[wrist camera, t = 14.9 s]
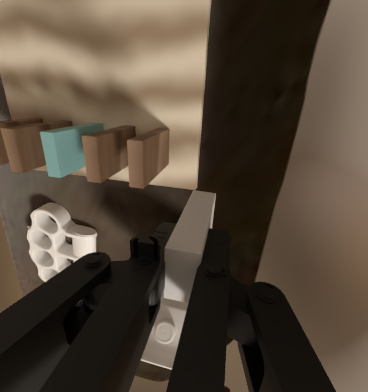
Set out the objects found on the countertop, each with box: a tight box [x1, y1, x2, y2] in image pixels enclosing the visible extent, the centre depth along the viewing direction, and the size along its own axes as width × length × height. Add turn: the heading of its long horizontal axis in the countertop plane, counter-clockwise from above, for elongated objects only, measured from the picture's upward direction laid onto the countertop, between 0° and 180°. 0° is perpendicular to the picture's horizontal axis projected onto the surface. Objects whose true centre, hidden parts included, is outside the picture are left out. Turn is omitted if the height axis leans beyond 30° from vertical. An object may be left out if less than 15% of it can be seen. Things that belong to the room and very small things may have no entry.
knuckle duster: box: [27, 203, 97, 282], centre depth 45 cm, size 3×18×15 cm
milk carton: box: [141, 291, 188, 370], centre depth 32 cm, size 7×7×19 cm
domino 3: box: [40, 123, 104, 178], centre depth 30 cm, size 2×5×10 cm, turn 177°
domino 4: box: [82, 125, 136, 183], centre depth 29 cm, size 2×5×10 cm, turn 177°
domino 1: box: [0, 118, 44, 165], centre depth 32 cm, size 2×5×10 cm, turn 177°
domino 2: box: [0, 120, 73, 173], centre depth 31 cm, size 2×5×10 cm, turn 177°
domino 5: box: [127, 128, 170, 189], centre depth 28 cm, size 2×5×10 cm, turn 177°
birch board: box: [0, 0, 211, 190], centre depth 32 cm, size 26×30×1 cm
